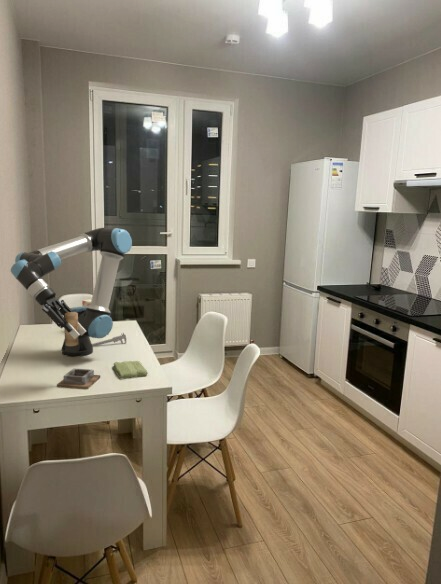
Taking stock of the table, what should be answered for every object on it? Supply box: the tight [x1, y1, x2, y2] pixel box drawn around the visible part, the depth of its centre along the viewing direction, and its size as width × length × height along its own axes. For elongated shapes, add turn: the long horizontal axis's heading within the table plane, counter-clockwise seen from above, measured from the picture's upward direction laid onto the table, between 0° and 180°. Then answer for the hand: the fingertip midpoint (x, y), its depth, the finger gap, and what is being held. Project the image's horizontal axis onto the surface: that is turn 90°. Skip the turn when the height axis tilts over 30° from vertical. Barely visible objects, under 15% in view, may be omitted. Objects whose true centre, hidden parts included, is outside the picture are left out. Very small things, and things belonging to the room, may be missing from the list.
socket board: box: [56, 368, 101, 390], centre depth 179 cm, size 13×13×4 cm
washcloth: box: [112, 360, 148, 380], centre depth 194 cm, size 13×18×3 cm
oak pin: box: [64, 312, 78, 346], centre depth 176 cm, size 5×5×13 cm
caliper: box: [92, 332, 127, 348], centre depth 231 cm, size 20×1×6 cm, turn 115°
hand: (80, 335), depth 176 cm, fingers closed on oak pin, 5 cm apart
